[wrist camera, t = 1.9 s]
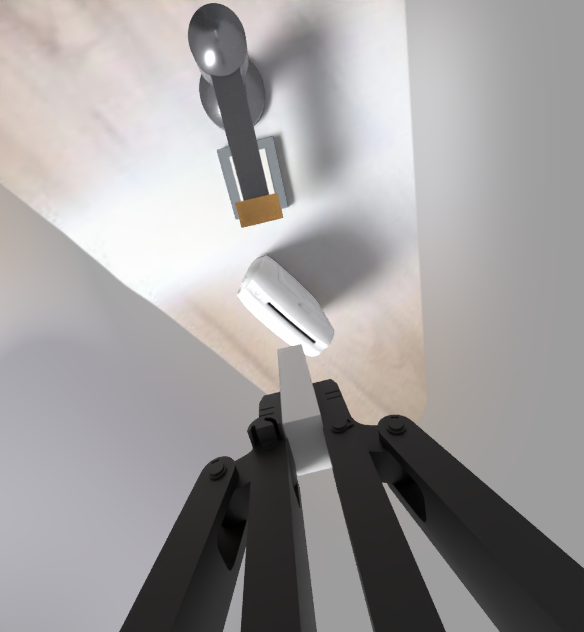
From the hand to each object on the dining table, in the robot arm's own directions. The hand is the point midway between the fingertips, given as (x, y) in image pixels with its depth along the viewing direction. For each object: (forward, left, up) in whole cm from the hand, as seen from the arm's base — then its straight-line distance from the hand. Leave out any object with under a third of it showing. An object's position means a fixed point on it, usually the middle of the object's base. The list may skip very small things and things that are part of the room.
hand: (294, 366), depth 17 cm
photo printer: (0, 0, -20) cm, 20 cm away
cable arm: (-16, 0, -13) cm, 20 cm away
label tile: (-13, 0, -19) cm, 23 cm away
